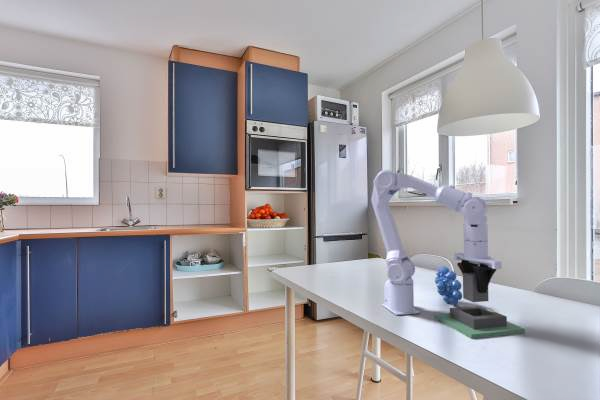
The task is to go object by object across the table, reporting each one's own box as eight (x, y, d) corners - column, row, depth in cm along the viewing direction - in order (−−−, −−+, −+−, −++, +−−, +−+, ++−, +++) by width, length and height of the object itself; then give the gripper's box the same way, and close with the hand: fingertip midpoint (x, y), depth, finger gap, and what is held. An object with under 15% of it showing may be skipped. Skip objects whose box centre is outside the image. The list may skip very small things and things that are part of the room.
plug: (463, 298, 84) (462, 272, 84) (478, 297, 85) (477, 271, 85) (473, 302, 80) (472, 275, 80) (488, 301, 81) (487, 274, 81)
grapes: (425, 299, 106) (425, 264, 106) (442, 297, 107) (441, 263, 108) (449, 310, 94) (449, 271, 95) (467, 308, 96) (467, 270, 96)
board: (434, 318, 88) (434, 305, 88) (482, 313, 91) (481, 301, 91) (471, 338, 74) (470, 323, 74) (525, 332, 77) (525, 318, 77)
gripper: (511, 243, 77) (512, 297, 76) (468, 237, 91) (469, 283, 90) (487, 244, 75) (488, 298, 75) (447, 238, 89) (448, 284, 89)
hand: (476, 290), depth 83 cm, fingers closed on plug, 4 cm apart
